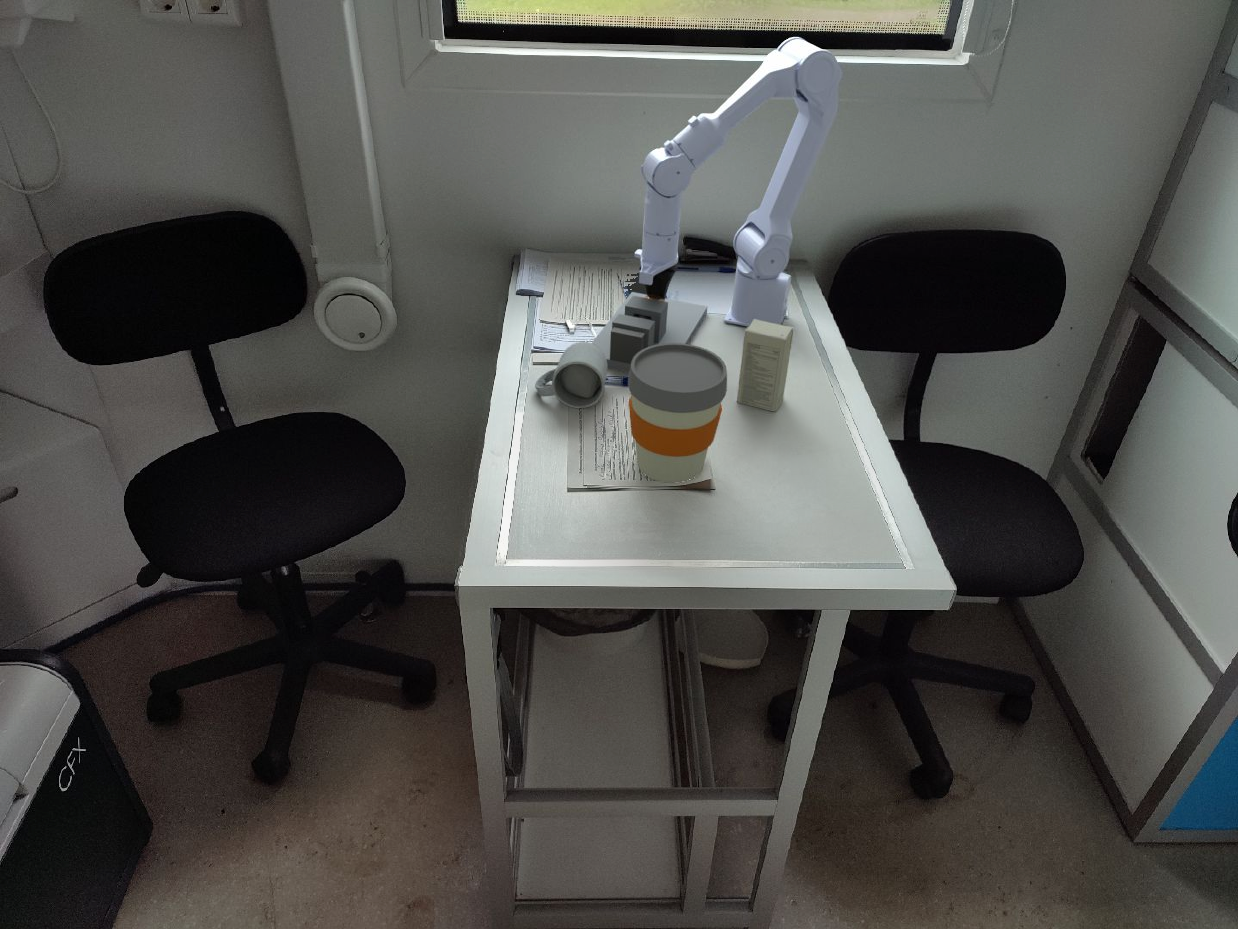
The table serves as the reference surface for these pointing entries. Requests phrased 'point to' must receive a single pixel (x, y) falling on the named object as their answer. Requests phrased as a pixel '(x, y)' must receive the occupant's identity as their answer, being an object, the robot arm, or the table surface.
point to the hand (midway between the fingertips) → (655, 306)
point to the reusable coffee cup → (675, 408)
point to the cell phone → (636, 286)
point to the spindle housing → (647, 327)
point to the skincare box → (764, 364)
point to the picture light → (571, 327)
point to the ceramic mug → (577, 376)
